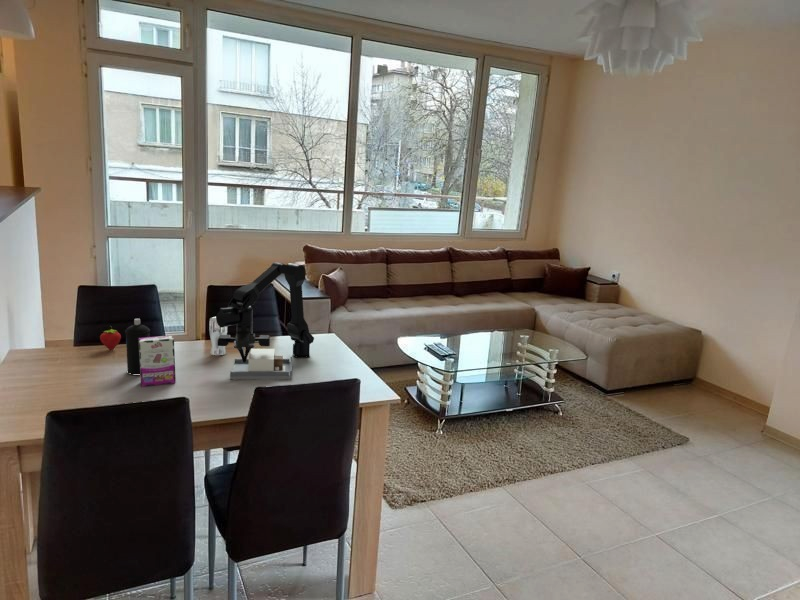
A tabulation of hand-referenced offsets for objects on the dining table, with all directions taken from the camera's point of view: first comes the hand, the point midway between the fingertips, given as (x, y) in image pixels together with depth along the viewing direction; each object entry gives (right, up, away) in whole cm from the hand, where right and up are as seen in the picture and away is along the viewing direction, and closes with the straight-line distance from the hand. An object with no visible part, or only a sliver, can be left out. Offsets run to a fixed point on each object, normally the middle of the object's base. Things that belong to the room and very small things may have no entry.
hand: (244, 362), depth 202 cm
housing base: (+6, -4, +2) cm, 8 cm away
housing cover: (+6, -2, +2) cm, 7 cm away
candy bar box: (-26, -6, -15) cm, 31 cm away
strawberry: (-58, +3, +14) cm, 60 cm away
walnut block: (+12, -3, +3) cm, 12 cm away
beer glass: (-16, +1, +19) cm, 25 cm away
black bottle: (-37, -3, -6) cm, 38 cm away
